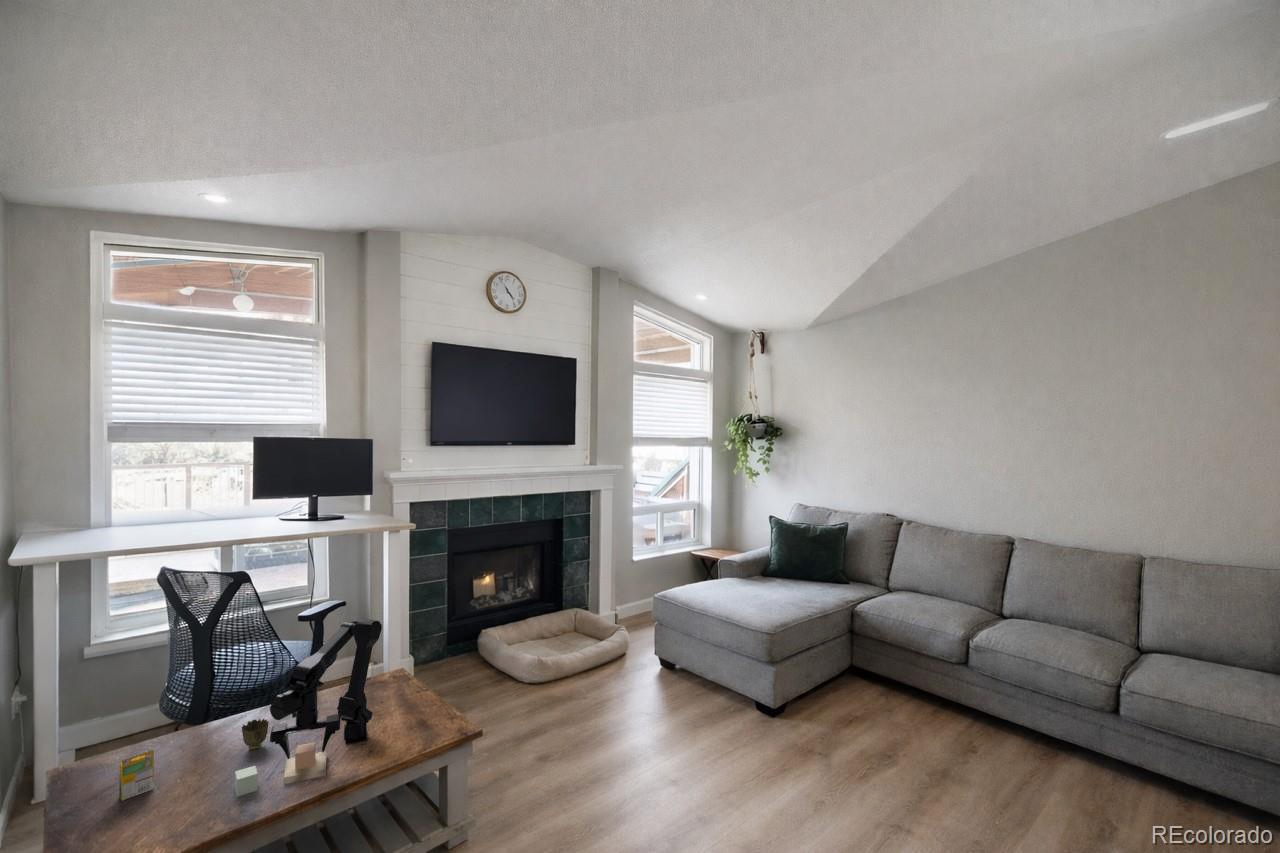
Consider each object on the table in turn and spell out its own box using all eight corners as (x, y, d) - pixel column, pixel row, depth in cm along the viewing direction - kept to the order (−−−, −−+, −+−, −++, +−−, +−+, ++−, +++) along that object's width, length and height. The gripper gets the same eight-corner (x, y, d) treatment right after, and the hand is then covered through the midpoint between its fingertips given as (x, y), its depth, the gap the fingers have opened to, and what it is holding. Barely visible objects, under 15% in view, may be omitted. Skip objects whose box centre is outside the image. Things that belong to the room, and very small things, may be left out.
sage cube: (255, 782, 178) (255, 765, 178) (257, 790, 174) (257, 773, 174) (234, 788, 175) (235, 771, 175) (236, 797, 171) (237, 779, 171)
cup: (255, 756, 192) (255, 731, 192) (235, 752, 193) (236, 728, 193) (273, 743, 199) (274, 719, 199) (254, 740, 200) (255, 717, 200)
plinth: (326, 758, 192) (326, 750, 192) (325, 777, 182) (325, 768, 182) (286, 766, 187) (286, 758, 187) (283, 786, 177) (283, 777, 177)
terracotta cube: (315, 757, 188) (315, 742, 188) (313, 766, 183) (314, 750, 183) (297, 761, 186) (297, 745, 186) (295, 770, 181) (295, 753, 181)
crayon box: (151, 785, 176) (151, 745, 175) (154, 789, 174) (154, 749, 174) (118, 797, 170) (119, 756, 170) (121, 801, 168) (121, 760, 168)
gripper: (341, 688, 196) (340, 736, 196) (274, 699, 188) (274, 748, 188) (340, 703, 186) (339, 753, 186) (270, 715, 178) (269, 767, 178)
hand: (306, 755), depth 185 cm, fingers open, 9 cm apart
